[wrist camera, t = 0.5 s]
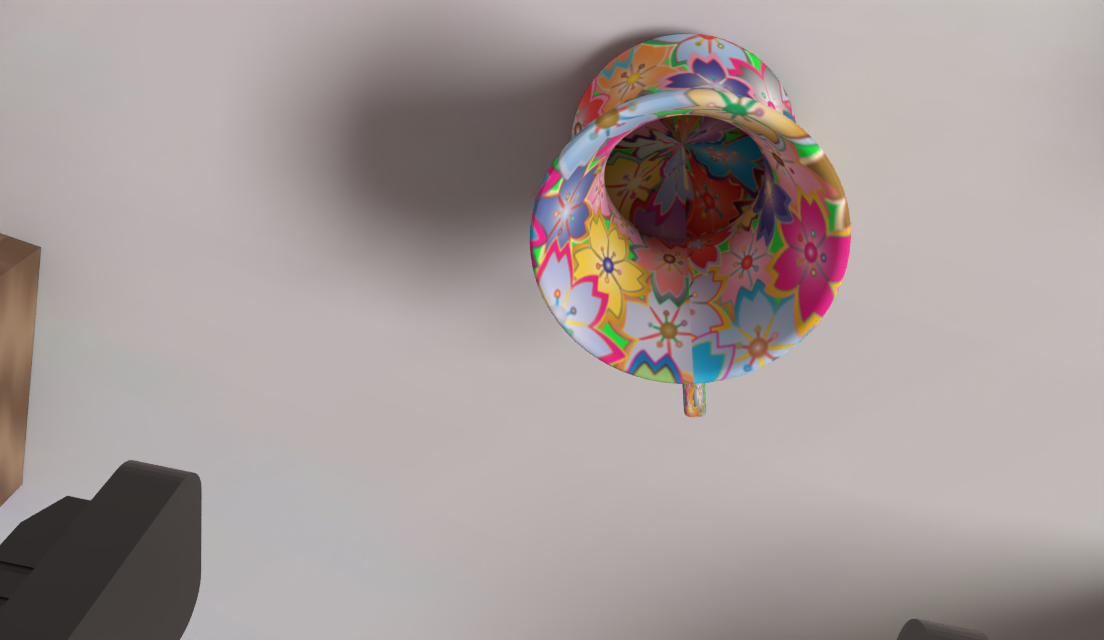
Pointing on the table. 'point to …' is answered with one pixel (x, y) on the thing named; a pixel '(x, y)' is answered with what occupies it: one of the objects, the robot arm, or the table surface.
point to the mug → (689, 218)
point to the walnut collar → (15, 354)
